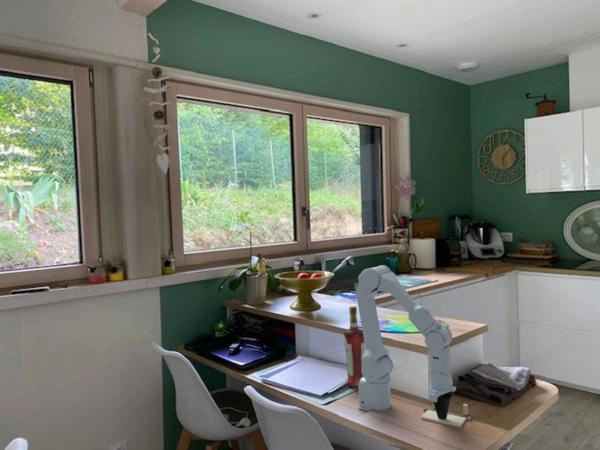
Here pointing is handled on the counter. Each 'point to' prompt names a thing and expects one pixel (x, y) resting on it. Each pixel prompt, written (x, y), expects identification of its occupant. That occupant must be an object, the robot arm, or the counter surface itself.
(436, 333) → the robot arm
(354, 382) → the liquor
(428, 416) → the tile
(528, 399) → the counter surface
